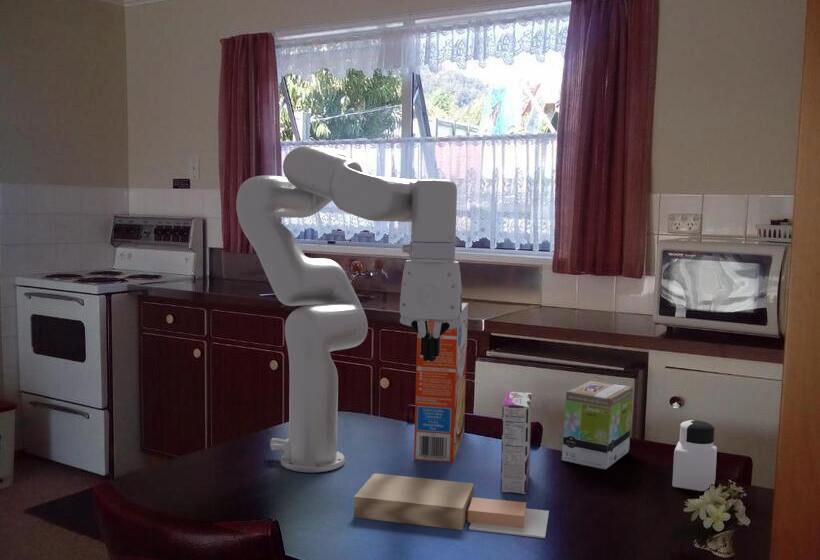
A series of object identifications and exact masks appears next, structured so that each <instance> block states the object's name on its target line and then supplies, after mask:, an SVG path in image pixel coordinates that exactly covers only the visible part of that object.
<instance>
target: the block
mask: <svg viewBox="0 0 820 560" xmlns="http://www.w3.org/2000/svg"><path fill="white" fill-rule="evenodd" d="M526 508H527V502H524V501H514V500H505V499H503V500H502V499H496V498H495V499H493V498H492V499H491V498H483V497H475V496H474V497H472V500H471V503H470V506H469V509H468V517H467V523H469V524H471V523H479V524H489V525H498V526H508V527H518V528H524V522H525V515H526Z"/></svg>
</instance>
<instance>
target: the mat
mask: <svg viewBox="0 0 820 560" xmlns="http://www.w3.org/2000/svg"><path fill="white" fill-rule="evenodd" d="M549 514H550V510H546V509H535V508H528V507H526V515H525V522H524V528H518V527H508V526H498V525H489V524H479V523H469V527H468V530H471V531H477V532H486V533H495V534H504V535H512V536H521V537H529V538H538V539H546V533H547V527H548V521H549V520H548V519H549Z"/></svg>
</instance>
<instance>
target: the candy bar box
mask: <svg viewBox="0 0 820 560" xmlns="http://www.w3.org/2000/svg"><path fill="white" fill-rule="evenodd" d="M505 395H506V396H505V398H504V401H503V404H502V415H501V417H502V418H501V420H502V421H501V461H500V463H501V465H500V467H501V468H500V492H501V493H502V494H503V493H504V494H511V495H512V494H513V495H527V490H528V485H529V484H528V483H529V480H530V461H531V460H530V459H531V457H530V456H531V455H530V454H531V453H530V452H531V427H532V426H531V425H532V424H531V423H532V422H531V421H532V418H531V417H532V414H531V413H532V392H525V391H524V392H522V391H511V390H510V391H507V392H506V394H505Z"/></svg>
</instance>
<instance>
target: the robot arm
mask: <svg viewBox="0 0 820 560" xmlns="http://www.w3.org/2000/svg"><path fill="white" fill-rule="evenodd" d="M282 163H283V164H282V172H283V174H284V175H266V174H265V175H257V176H253V177H250V178H247V179H246V180H245V181H244V182H242V184H241V185H240V186H239V187H238V191H237V194H236V202H235V204H236V206H235V207H236V215H237V219H238V223H239V225H240V227H241V230H242V232H243V233H244V235H245V237H246V238H247V240H248V241H249V243H250V244H251V246H252V248H253V249H254V251H255V253H256V255H257V257H258V259H259V261H260V264H261V266H262V268H263V271H264V273H265V275H266V277H267V278H266V279H268V282H269V284H270V287H271V288H272V291H273V293H274V295H275V297H276V298H277V299H278V301H279V302H280V303H282V304H283V305H284V306H289V307H296V306H297V307H298V306H300V307H298V308H296V309H294V310H293V311H292V312H291V313H289V315H288V317H287V318H286V320H285V324H284V336H285V341H286V347H287V353H288V354H287V355H288V364H289V365H288V366H289V370H288V371H289V382H288V383H289V399H288V402H289V405H288V406H289V408H288V409H289V411H288V413H289V415H288V418H289V419H288V421H289V422H288V438H286V439H282V438H277V437H271V439H270V442H269V443H270V445H269V446H270V449H271V451H273V452H274V451H275V452H282V453H283V454H282V455H281V456H280V465H281V466H282V467H283V468H285V469H287V470H290V471H293V472H300V473H324V472H329V471H333V470H334V471H335V470H336V469H337V470H338V469H339V468H341V467H343V465H344V464H345V455H344V454H343V453H341V452H340V451H338V414H339V413H338V411H339V410H338V409H339V407H338V406H339V403H338V402H339V400H338V399H339V398H338V397H339V374H338V369H337V367H336V365H335V363H334V361H333V359H332V356H331V352H334V351H342V350H347V349H352V348H355V347H358V346H360V345H361V344H362V343H363V342H364V341H365V339H366V338H367V336H368V330H369V329H368V328H369V325H368V318H367V315H366V313H365V310H364V308H363V306H362V304H361V302H360V299H359V298H358V297H359V296H358V295H357V293H356V292H355V289H354V287H353V285H352V283H351V280H350V278H349V277H348V275H347V273H346V271H345V270H344V268H343V267H342V266H341V265H340V264H339V263H338V262H336V261H334V260H333V259H331V258H324V257H317V258H316V257H314V258H313V257H309V256H306V255H305V254H304V252H303V251H302V249H301V247H300V245H299V242H298V239H297V238H296V237H295V235H294V234H293V232H292V231H291V230H290V229H289V228H288V227H286V226H285V225H284V224H283V223H281V222H280V221H279V219H278V218H287V219H288V218H289V219H290V218H291V219H293V218H295V219H296V218H297V219H301V218H302V219H303V218H308V217H311V216H314V215H315V214H316V213H318V212H320V211H321V210H322V209H324V208H325V207H326V206H327V205H329V204H330V203H331V202H332V203H333V204H334V205H335V206H336V207H337V209H339V210H340V211H343V212H345V213H347V214H351V215H353V216H356V217H357V218H360V219H365V220H368V221H372V222H397V223H398V222H399V223H401V222H402V223H405V222H406V223H411V224H410V226H411V232H410V234H411V236H410V240H411V241H409V244H402V253H403V254H408V255H409V258H410V259H406V260H405V262H404V266H403V267H404V268H403V270H402V271H403V272H402V277H401V278H402V279H401V287H400V296H399V297H400V298H399V315H400V318H399V324H402V325H404V326H408V327H412V329H414V331H415V332H416V334H417V333H418V334H419V336H420V337H421V355H424V361H428V360H429V361H432V362H433V361H434V360H435V359H436V356H439V353H440V336H441V335H442V334H443V333H444V332H445V331H446V330H448V329H452V328H457V327H460V326H462V324H463V323H462V318H461V312H462V303H463V295H462V293H463V290H462V289H463V288H462V276H461V270H460V268H461V267H460V261H458V260H456V239H457V237H456V236H457V233H456V232H457V207H458V206H457V203H458V202H457V201H458V188H457V185H456V183H455V182H454V181H453V180H450V179H440V178H437V179H436V178H422V179H421V178H420V179H413V178H399V177H389V176H388V177H387V176H375V175H371V174H368V173H365V172H363V169H362V166H361V165H360V163H358V162H357V161H356V160H354V159H352V158H350V156H349V155H348V154H347V153H346V152H344V151H342V150H340V149H335V148H328V147H318V146H309V145H308V146H307V145H306V146H298V147H295V148H294V149H292V150H290V151H289V152H288V153H287V154H286V155H285V157H284V160H283V162H282ZM428 320H429V321H435V323H434V329H433V333H432V334H431V335H430V332H429V328H428ZM445 321H448V322H445ZM444 322H445V323H444Z"/></svg>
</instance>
